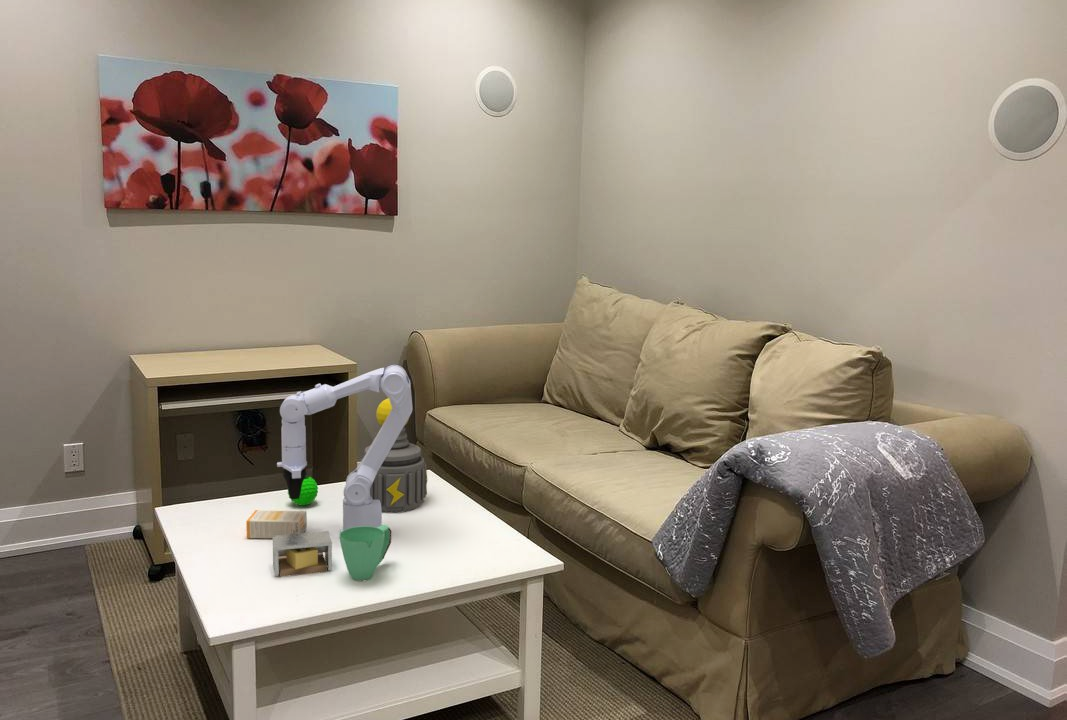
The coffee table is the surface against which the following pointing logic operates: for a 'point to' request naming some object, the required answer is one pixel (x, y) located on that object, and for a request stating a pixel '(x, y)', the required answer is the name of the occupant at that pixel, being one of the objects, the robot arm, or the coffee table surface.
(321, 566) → the pin board
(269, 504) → the coffee table surface
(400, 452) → the decorative lamp
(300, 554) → the hollow square block
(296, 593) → the coffee table surface
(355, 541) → the mug
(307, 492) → the ornament
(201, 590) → the coffee table surface
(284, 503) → the coffee table surface
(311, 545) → the cover
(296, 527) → the supplement box
